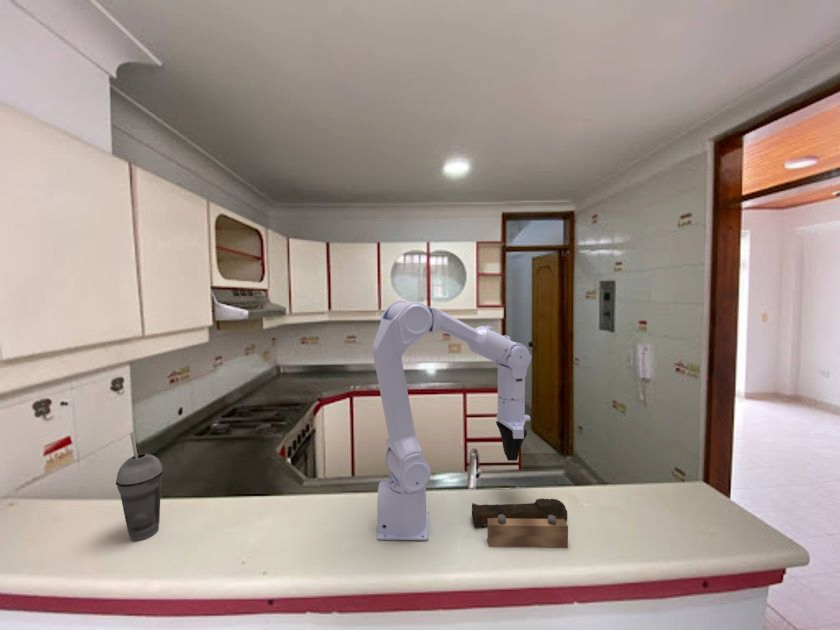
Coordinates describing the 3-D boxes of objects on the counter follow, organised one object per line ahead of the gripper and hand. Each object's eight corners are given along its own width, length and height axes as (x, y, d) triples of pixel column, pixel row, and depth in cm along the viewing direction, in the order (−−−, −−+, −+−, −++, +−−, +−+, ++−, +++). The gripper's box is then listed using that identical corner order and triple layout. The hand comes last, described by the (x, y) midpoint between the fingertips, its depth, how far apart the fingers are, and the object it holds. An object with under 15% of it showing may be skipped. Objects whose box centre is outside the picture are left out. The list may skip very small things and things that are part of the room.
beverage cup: (143, 548, 65) (135, 442, 64) (109, 544, 67) (101, 439, 65) (176, 523, 72) (170, 426, 71) (145, 519, 74) (138, 424, 72)
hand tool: (473, 531, 69) (473, 508, 69) (470, 518, 73) (470, 496, 73) (572, 532, 69) (572, 509, 68) (564, 518, 73) (564, 496, 72)
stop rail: (488, 546, 65) (488, 519, 64) (487, 538, 67) (487, 513, 66) (567, 547, 64) (568, 520, 64) (563, 539, 66) (564, 513, 66)
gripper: (539, 407, 70) (538, 474, 71) (521, 387, 85) (521, 443, 86) (503, 407, 71) (503, 474, 72) (491, 387, 85) (491, 442, 86)
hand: (510, 457), depth 79 cm, fingers closed
